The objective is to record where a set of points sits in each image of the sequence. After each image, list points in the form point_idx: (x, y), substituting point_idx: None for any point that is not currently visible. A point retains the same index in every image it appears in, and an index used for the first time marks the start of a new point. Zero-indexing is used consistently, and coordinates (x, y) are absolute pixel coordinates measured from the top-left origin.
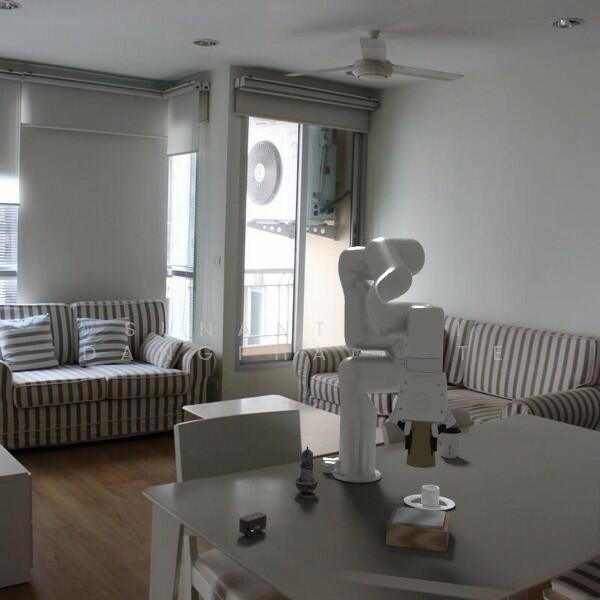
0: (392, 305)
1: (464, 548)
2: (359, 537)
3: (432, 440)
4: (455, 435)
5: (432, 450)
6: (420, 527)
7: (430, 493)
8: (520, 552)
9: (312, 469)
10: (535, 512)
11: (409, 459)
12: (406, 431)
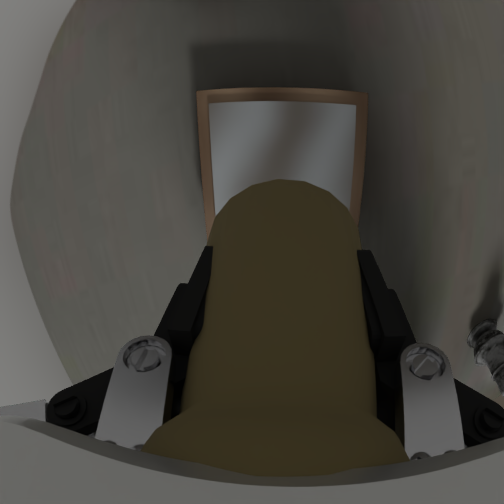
0: None
1: (173, 129)
2: (417, 130)
3: (181, 311)
4: None
5: (198, 261)
6: (272, 99)
7: None
8: (78, 155)
9: (493, 367)
10: (109, 349)
11: (351, 225)
12: (428, 369)
